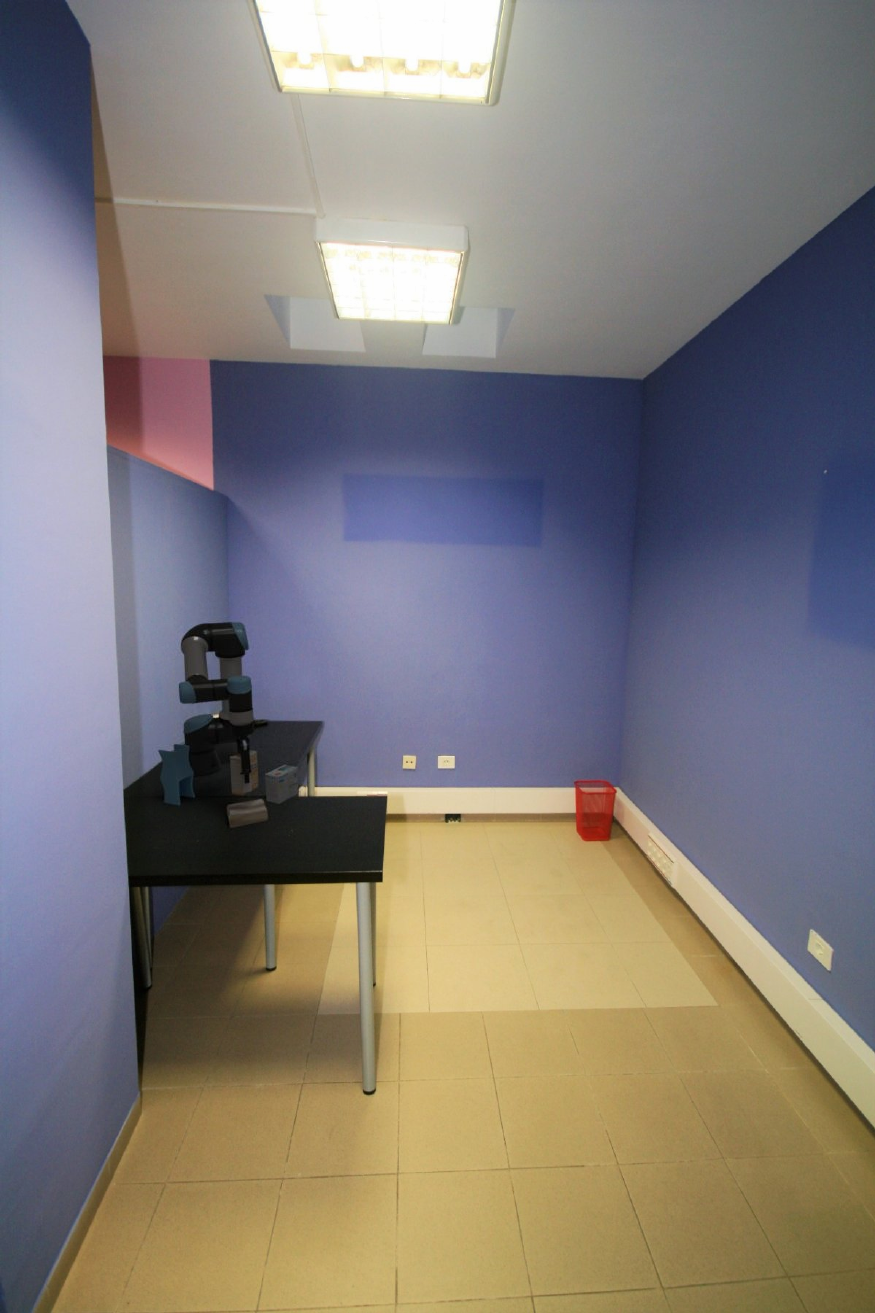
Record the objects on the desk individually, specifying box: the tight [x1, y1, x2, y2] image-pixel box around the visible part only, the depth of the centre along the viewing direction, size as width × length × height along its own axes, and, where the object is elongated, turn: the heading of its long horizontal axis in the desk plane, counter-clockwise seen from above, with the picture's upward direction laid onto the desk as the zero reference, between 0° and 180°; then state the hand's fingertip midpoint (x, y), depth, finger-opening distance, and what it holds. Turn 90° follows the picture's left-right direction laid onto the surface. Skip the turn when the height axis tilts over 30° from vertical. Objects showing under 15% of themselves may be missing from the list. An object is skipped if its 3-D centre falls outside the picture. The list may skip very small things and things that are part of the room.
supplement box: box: [229, 749, 259, 796], centre depth 177 cm, size 8×5×13 cm, turn 160°
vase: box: [157, 743, 196, 806], centre depth 192 cm, size 8×8×20 cm
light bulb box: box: [264, 764, 299, 805], centre depth 195 cm, size 11×7×11 cm, turn 154°
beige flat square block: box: [226, 798, 269, 828], centre depth 179 cm, size 10×12×4 cm
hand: (245, 786), depth 177 cm, fingers closed on supplement box, 9 cm apart
